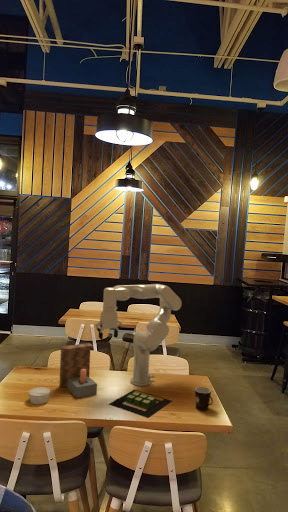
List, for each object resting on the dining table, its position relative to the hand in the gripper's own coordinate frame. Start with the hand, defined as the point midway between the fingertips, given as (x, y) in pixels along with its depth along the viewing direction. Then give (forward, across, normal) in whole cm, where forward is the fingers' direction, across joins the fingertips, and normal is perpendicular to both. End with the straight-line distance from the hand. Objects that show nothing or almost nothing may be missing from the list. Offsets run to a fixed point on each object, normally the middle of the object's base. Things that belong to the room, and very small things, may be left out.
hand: (108, 338), depth 220 cm
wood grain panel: (+30, +14, -12) cm, 35 cm away
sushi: (+31, -9, +25) cm, 41 cm away
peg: (+29, +14, -2) cm, 33 cm away
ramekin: (+31, +39, -2) cm, 50 cm away
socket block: (+30, +14, -3) cm, 34 cm away
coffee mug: (+31, -34, +47) cm, 65 cm away
